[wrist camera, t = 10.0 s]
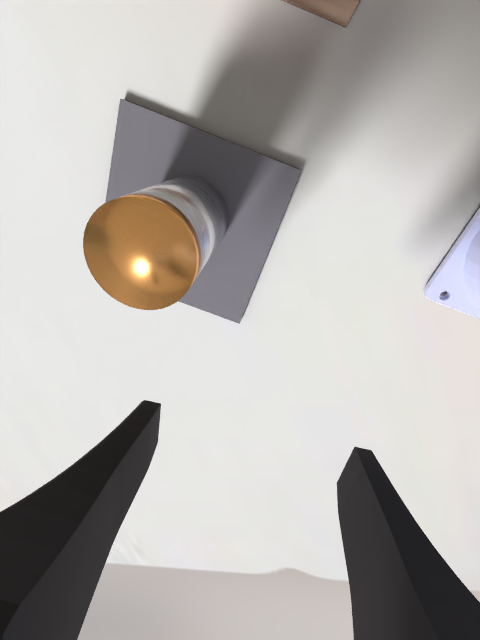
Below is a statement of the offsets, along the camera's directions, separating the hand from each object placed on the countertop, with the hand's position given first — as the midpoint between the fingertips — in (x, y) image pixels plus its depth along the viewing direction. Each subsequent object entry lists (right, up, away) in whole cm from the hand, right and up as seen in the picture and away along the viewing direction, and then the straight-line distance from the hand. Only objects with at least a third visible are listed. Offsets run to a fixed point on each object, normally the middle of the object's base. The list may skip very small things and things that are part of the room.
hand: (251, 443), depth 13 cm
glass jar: (-3, +10, +5) cm, 12 cm away
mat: (-3, +10, +6) cm, 12 cm away
